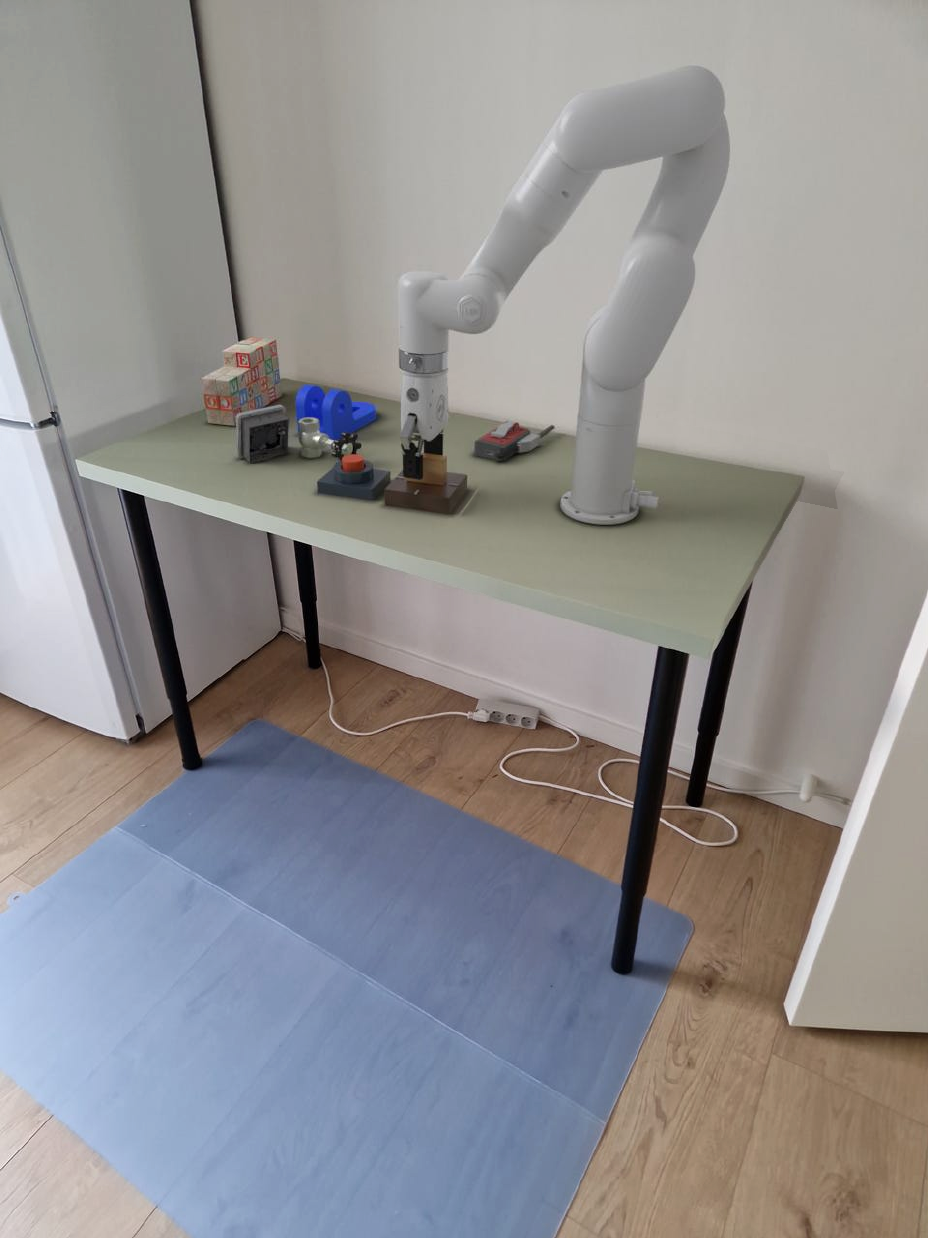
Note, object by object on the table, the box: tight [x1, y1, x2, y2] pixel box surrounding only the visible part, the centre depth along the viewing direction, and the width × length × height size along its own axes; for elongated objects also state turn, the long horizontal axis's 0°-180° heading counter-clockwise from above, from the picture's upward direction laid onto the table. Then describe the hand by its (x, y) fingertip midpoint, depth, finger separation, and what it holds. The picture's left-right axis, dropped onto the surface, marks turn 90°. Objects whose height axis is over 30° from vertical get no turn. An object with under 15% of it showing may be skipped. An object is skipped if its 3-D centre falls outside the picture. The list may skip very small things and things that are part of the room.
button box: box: [316, 459, 392, 502], centre depth 137 cm, size 10×8×4 cm
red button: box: [342, 453, 365, 471], centre depth 136 cm, size 4×4×2 cm
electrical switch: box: [235, 404, 290, 464], centre depth 147 cm, size 9×5×9 cm, turn 128°
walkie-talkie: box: [473, 420, 556, 462], centre depth 154 cm, size 9×4×20 cm
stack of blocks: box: [201, 337, 283, 427], centre depth 169 cm, size 21×6×12 cm, turn 165°
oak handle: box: [406, 452, 448, 486], centre depth 132 cm, size 6×2×5 cm, turn 73°
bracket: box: [294, 384, 377, 441], centre depth 162 cm, size 18×8×9 cm, turn 152°
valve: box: [297, 417, 363, 464], centre depth 147 cm, size 7×7×12 cm
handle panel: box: [383, 469, 468, 516], centre depth 134 cm, size 11×11×3 cm
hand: (423, 466), depth 132 cm, fingers open, 9 cm apart
